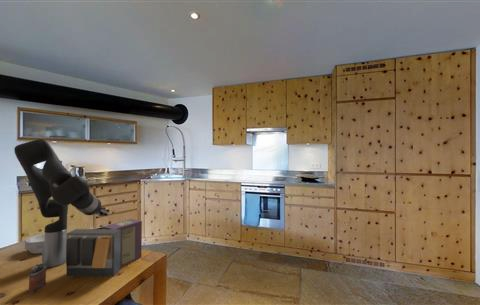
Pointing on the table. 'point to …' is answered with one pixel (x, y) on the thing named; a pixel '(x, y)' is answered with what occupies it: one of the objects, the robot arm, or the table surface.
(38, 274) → the lighter
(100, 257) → the panel
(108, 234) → the box
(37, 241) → the paper bowls
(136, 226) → the box
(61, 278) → the table surface
